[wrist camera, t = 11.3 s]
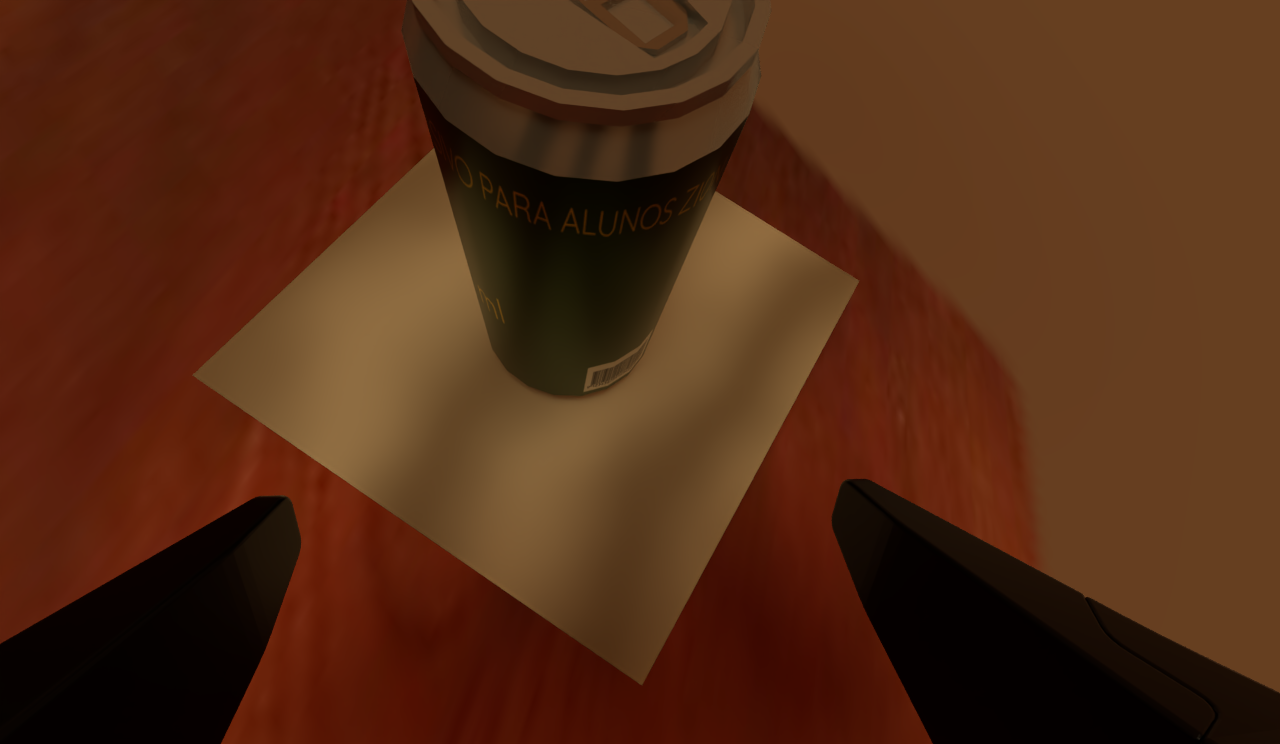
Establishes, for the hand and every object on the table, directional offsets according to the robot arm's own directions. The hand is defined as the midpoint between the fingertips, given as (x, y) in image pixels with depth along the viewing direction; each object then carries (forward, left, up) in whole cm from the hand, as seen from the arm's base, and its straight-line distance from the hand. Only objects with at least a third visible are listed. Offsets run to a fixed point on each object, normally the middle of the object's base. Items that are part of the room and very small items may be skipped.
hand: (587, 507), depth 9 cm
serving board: (+4, -6, -10) cm, 12 cm away
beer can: (+4, -5, -8) cm, 10 cm away
